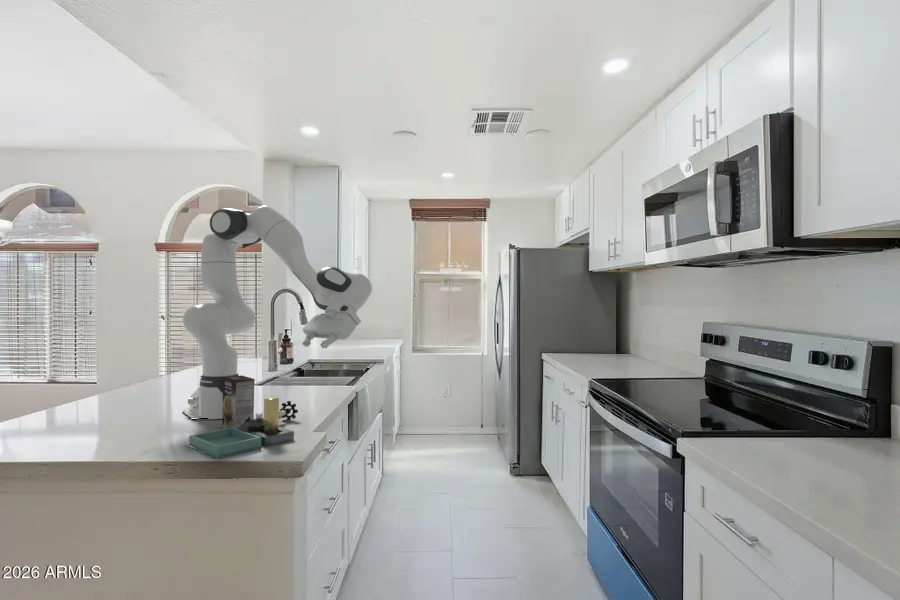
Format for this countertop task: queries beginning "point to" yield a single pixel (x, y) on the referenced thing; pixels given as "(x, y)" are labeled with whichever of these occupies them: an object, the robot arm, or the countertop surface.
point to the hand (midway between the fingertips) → (313, 346)
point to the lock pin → (271, 415)
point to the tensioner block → (266, 440)
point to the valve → (287, 411)
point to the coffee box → (237, 401)
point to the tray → (225, 442)
